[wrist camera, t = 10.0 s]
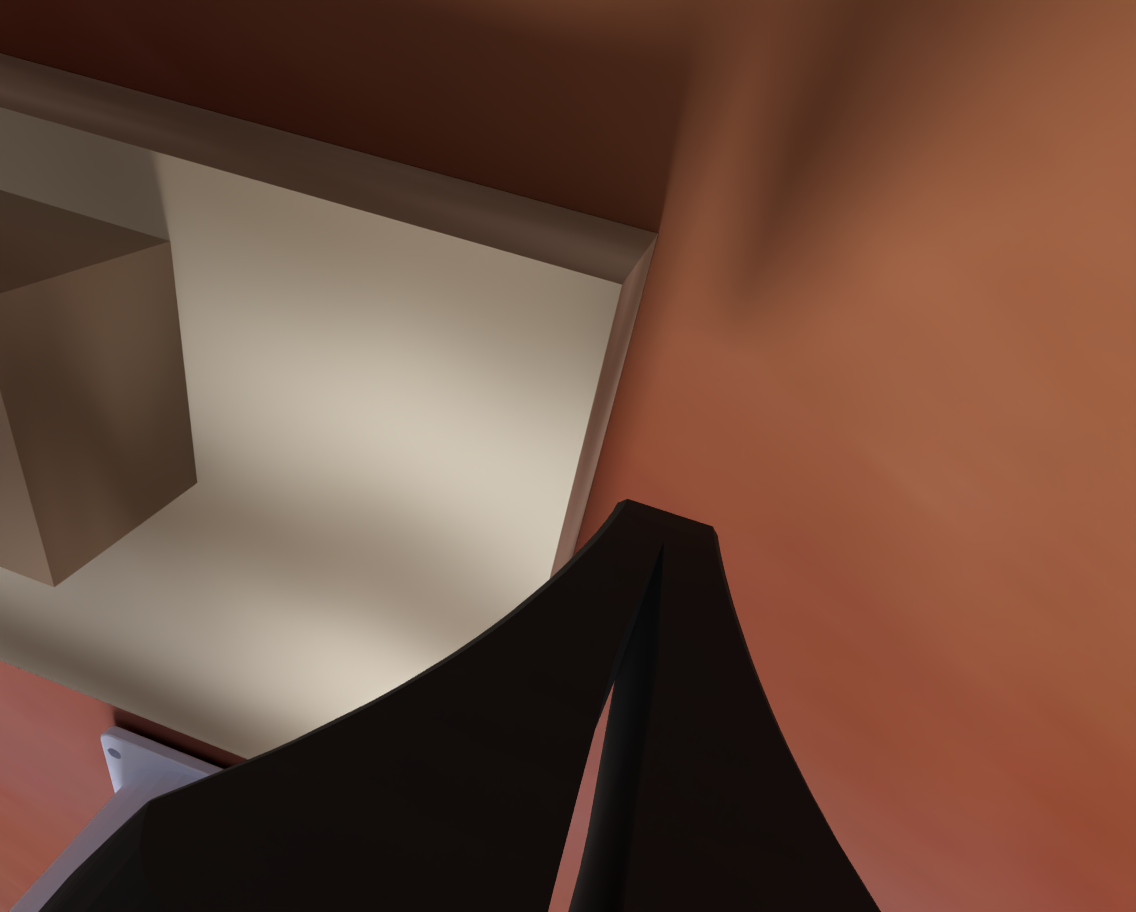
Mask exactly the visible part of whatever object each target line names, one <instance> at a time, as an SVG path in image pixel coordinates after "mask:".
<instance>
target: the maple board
mask: <svg viewBox="0 0 1136 912" xmlns="http://www.w3.org/2000/svg"><path fill="white" fill-rule="evenodd" d="M0 190H3V191H6V192H9V193H12V194H16V195H19V196H22V197H26V198H29V199H32V200H36V201H39V202H42V203H46V204H49V205H52V206H56V207H59V208H62V209H65V210H69V211H72V212H75V213H79V214H82V215H85V216H89V217H92V218H95V219H99V220H102V221H105V222H108V223H112V224H115V225H118V226H122V227H125V228H128V229H132V230H135V231H138V232H142V233H145V234H148V235H151V236H155V237H158V238H161V239H165V240H168V241H170V242H171V251H172V260H173V269H174V278H175V287H176V296H177V305H178V314H179V323H180V332H181V341H182V350H183V359H184V368H185V377H186V386H187V395H188V404H189V413H190V422H191V431H192V440H193V449H194V458H195V467H196V475H197V484H195V485H194V486H193V487H191V488H190V489H188V490H187V491H186V492H184V493H183V494H182V495H180V496H179V497H177V498H176V499H175V500H173V501H172V502H171V503H169V504H168V505H167V506H165V507H164V508H162V509H161V510H160V511H158V512H157V513H156V514H154V515H153V516H151V517H150V518H149V519H147V520H146V521H145V522H143V523H142V524H141V525H139V526H138V527H136V528H135V529H134V530H132V531H131V532H130V533H128V534H127V535H125V536H124V537H123V538H121V539H120V540H119V541H117V542H116V543H115V544H113V545H112V546H110V547H109V548H108V549H106V550H105V551H104V552H102V553H101V554H99V555H98V556H97V557H95V558H94V559H93V560H91V561H90V562H89V563H87V564H86V565H84V566H83V567H82V568H80V569H79V570H78V571H76V572H75V573H74V574H72V575H71V576H69V577H68V578H67V579H65V580H64V581H63V582H61V583H60V584H58V585H57V586H56V587H52V586H49V585H47V584H44V583H41V582H39V581H36V580H34V579H31V578H28V577H26V576H23V575H20V574H18V573H15V572H12V571H10V570H7V569H5V568H2V567H0V661H3V662H5V663H8V664H10V665H13V666H15V667H18V668H20V669H23V670H25V671H28V672H30V673H33V674H35V675H38V676H40V677H43V678H45V679H48V680H50V681H53V682H55V683H58V684H60V685H63V686H65V687H68V688H70V689H73V690H75V691H78V692H80V693H83V694H85V695H88V696H90V697H93V698H95V699H98V700H100V701H103V702H105V703H108V704H110V705H113V706H115V707H118V708H120V709H123V710H125V711H128V712H130V713H133V714H135V715H138V716H140V717H143V718H145V719H148V720H150V721H153V722H155V723H158V724H161V725H163V726H166V727H168V728H171V729H173V730H176V731H178V732H181V733H183V734H186V735H188V736H191V737H193V738H196V739H198V740H201V741H203V742H206V743H208V744H211V745H213V746H216V747H218V748H221V749H223V750H226V751H228V752H231V753H233V754H236V755H238V756H241V757H243V758H246V759H251V758H253V757H255V756H258V755H260V754H263V753H265V752H268V751H270V750H272V749H274V748H276V747H279V746H281V745H283V744H285V743H288V742H290V741H292V740H294V739H296V738H298V737H300V736H302V735H304V734H306V733H308V732H310V731H312V730H314V729H316V728H318V727H320V726H322V725H324V724H326V723H328V722H330V721H332V720H334V719H336V718H338V717H340V716H343V715H345V714H347V713H349V712H351V711H353V710H355V709H357V708H359V707H361V706H363V705H365V704H367V703H369V702H371V701H373V700H374V699H376V698H378V697H380V696H382V695H384V694H385V693H387V692H389V691H391V690H392V689H394V688H396V687H398V686H400V685H401V684H403V683H405V682H406V681H408V680H410V679H411V678H413V677H415V676H416V675H418V674H420V673H421V672H423V671H424V670H426V669H428V668H429V667H431V666H433V665H434V664H436V663H438V662H439V661H441V660H443V659H444V658H446V657H447V656H449V655H450V654H452V653H454V652H455V651H457V650H458V649H459V648H461V647H462V646H464V645H465V644H467V643H468V642H470V641H471V640H473V639H474V638H476V637H477V636H479V635H480V634H481V633H483V632H484V631H486V630H487V629H488V628H490V627H491V626H492V625H494V624H495V623H496V622H498V621H499V620H500V619H502V618H503V617H504V616H506V615H507V614H508V613H510V612H511V611H512V610H513V609H514V608H516V607H517V606H518V605H519V604H521V603H522V602H523V601H524V600H525V599H527V598H528V597H529V596H530V595H531V594H533V593H534V592H535V591H536V590H537V589H539V588H540V587H541V586H542V585H543V584H545V583H546V582H547V581H548V580H549V579H550V578H551V577H552V576H554V575H555V574H556V573H557V572H558V571H559V570H560V569H561V568H562V567H563V566H564V565H565V564H566V563H567V562H568V561H569V560H570V559H571V558H572V557H573V554H574V550H575V546H576V542H577V538H578V535H579V531H580V527H581V523H582V520H583V516H584V512H585V508H586V504H587V501H588V497H589V493H590V489H591V486H592V482H593V478H594V474H595V470H596V467H597V463H598V459H599V455H600V452H601V448H602V444H603V440H604V437H605V433H606V429H607V425H608V421H609V418H610V414H611V410H612V406H613V403H614V399H615V395H616V391H617V387H618V384H619V380H620V376H621V372H622V369H623V365H624V361H625V357H626V354H627V350H628V346H629V342H630V338H631V335H632V331H633V327H634V323H635V320H636V316H637V312H638V308H639V304H640V301H641V297H642V293H643V289H644V286H645V282H646V278H647V274H648V270H649V267H650V263H651V259H652V255H653V252H654V248H655V244H656V240H657V237H658V233H654V232H650V231H647V230H643V229H639V228H636V227H632V226H628V225H625V224H621V223H617V222H614V221H610V220H606V219H603V218H599V217H596V216H592V215H588V214H585V213H581V212H577V211H574V210H570V209H566V208H563V207H559V206H555V205H552V204H548V203H545V202H541V201H537V200H534V199H530V198H526V197H523V196H519V195H515V194H512V193H508V192H504V191H501V190H497V189H493V188H490V187H486V186H483V185H479V184H475V183H472V182H468V181H464V180H461V179H457V178H453V177H450V176H446V175H442V174H439V173H435V172H431V171H428V170H424V169H421V168H417V167H413V166H410V165H406V164H402V163H399V162H395V161H391V160H388V159H384V158H380V157H377V156H373V155H370V154H366V153H362V152H359V151H355V150H351V149H348V148H344V147H340V146H337V145H333V144H329V143H326V142H322V141H318V140H315V139H311V138H308V137H304V136H300V135H297V134H293V133H289V132H286V131H282V130H278V129H275V128H271V127H267V126H264V125H260V124H256V123H253V122H249V121H246V120H242V119H238V118H235V117H231V116H227V115H224V114H220V113H216V112H213V111H209V110H205V109H202V108H198V107H195V106H191V105H187V104H184V103H180V102H176V101H173V100H169V99H165V98H162V97H158V96H154V95H151V94H147V93H143V92H140V91H136V90H133V89H129V88H125V87H122V86H118V85H114V84H111V83H107V82H103V81H100V80H96V79H92V78H89V77H85V76H81V75H78V74H74V73H71V72H67V71H63V70H60V69H56V68H52V67H49V66H45V65H41V64H38V63H34V62H30V61H27V60H23V59H20V58H16V57H12V56H9V55H5V54H1V53H0Z"/></svg>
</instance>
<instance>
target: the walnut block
mask: <svg viewBox="0 0 1136 912" xmlns="http://www.w3.org/2000/svg"><path fill="white" fill-rule="evenodd" d="M195 484H197V475H196V467H195V458H194V449H193V440H192V431H191V422H190V413H189V404H188V395H187V386H186V377H185V368H184V359H183V350H182V341H181V332H180V323H179V314H178V305H177V296H176V287H175V278H174V269H173V260H172V251H171V242H170V241H168V240H165V239H161V238H158V237H155V236H151V235H148V234H145V233H142V232H138V231H135V230H132V229H128V228H125V227H122V226H118V225H115V224H112V223H108V222H105V221H102V220H99V219H95V218H92V217H89V216H85V215H82V214H79V213H75V212H72V211H69V210H65V209H62V208H59V207H56V206H52V205H49V204H46V203H42V202H39V201H36V200H32V199H29V198H26V197H22V196H19V195H16V194H12V193H9V192H6V191H3V190H0V567H2V568H5V569H7V570H10V571H12V572H15V573H18V574H20V575H23V576H26V577H28V578H31V579H34V580H36V581H39V582H41V583H44V584H47V585H49V586H52V587H56V586H57V585H58V584H60V583H61V582H63V581H64V580H65V579H67V578H68V577H69V576H71V575H72V574H74V573H75V572H76V571H78V570H79V569H80V568H82V567H83V566H84V565H86V564H87V563H89V562H90V561H91V560H93V559H94V558H95V557H97V556H98V555H99V554H101V553H102V552H104V551H105V550H106V549H108V548H109V547H110V546H112V545H113V544H115V543H116V542H117V541H119V540H120V539H121V538H123V537H124V536H125V535H127V534H128V533H130V532H131V531H132V530H134V529H135V528H136V527H138V526H139V525H141V524H142V523H143V522H145V521H146V520H147V519H149V518H150V517H151V516H153V515H154V514H156V513H157V512H158V511H160V510H161V509H162V508H164V507H165V506H167V505H168V504H169V503H171V502H172V501H173V500H175V499H176V498H177V497H179V496H180V495H182V494H183V493H184V492H186V491H187V490H188V489H190V488H191V487H193V486H194V485H195Z"/></svg>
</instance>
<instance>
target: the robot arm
mask: <svg viewBox="0 0 1136 912" xmlns="http://www.w3.org/2000/svg"><path fill="white" fill-rule="evenodd" d="M614 681H615V682H614ZM613 683H614V688H613V693H612V699H611V704H610V710H609V715H608V721H607V727H606V732H605V738H604V743H603V749H602V755H601V760H600V766H599V772H598V777H597V783H596V789H595V794H594V800H593V806H592V811H591V817H590V823H589V828H588V834H587V838H586V843H585V848H584V852H583V857H582V861H581V866H580V870H579V874H578V878H577V881H576V885H575V889H574V893H573V896H572V900H571V904H570V907H569V911H568V912H881V911H880V910H879V908H878V906H877V905H876V903H875V901H874V900H873V898H872V896H871V895H870V893H869V892H868V890H867V888H866V887H865V885H864V883H863V882H862V880H861V879H860V877H859V875H858V874H857V872H856V870H855V869H854V867H853V866H852V864H851V862H850V861H849V859H848V857H847V856H846V854H845V852H844V851H843V849H842V848H841V846H840V844H839V843H838V841H837V839H836V837H835V836H834V834H833V832H832V830H831V828H830V826H829V825H828V823H827V821H826V819H825V817H824V815H823V814H822V812H821V810H820V808H819V806H818V804H817V803H816V801H815V799H814V797H813V795H812V793H811V791H810V790H809V788H808V786H807V784H806V782H805V780H804V778H803V776H802V774H801V772H800V770H799V768H798V766H797V764H796V762H795V760H794V758H793V756H792V754H791V751H790V749H789V747H788V745H787V743H786V741H785V739H784V736H783V734H782V732H781V730H780V728H779V725H778V723H777V721H776V719H775V716H774V714H773V712H772V709H771V707H770V704H769V702H768V699H767V697H766V695H765V692H764V690H763V687H762V685H761V682H760V680H759V677H758V675H757V672H756V669H755V667H754V664H753V661H752V659H751V656H750V653H749V650H748V647H747V644H746V641H745V638H744V635H743V632H742V629H741V626H740V623H739V620H738V617H737V614H736V611H735V608H734V604H733V601H732V597H731V594H730V590H729V586H728V582H727V579H726V575H725V571H724V566H723V562H722V557H721V553H720V547H719V542H718V536H717V534H716V532H715V530H714V528H713V527H712V526H709V525H706V524H703V523H700V522H697V521H694V520H691V519H688V518H685V517H682V516H678V515H675V514H672V513H669V512H666V511H663V510H660V509H657V508H654V507H651V506H648V505H645V504H642V503H638V502H635V501H632V500H629V499H626V500H624V501H621V502H619V503H617V505H616V507H615V508H614V510H613V512H612V513H611V515H610V516H609V517H608V519H607V520H606V521H605V523H604V524H603V525H602V526H601V527H600V529H599V530H598V531H597V532H596V533H595V534H594V535H593V537H592V538H591V539H590V540H589V541H588V542H587V543H586V544H585V545H584V546H583V547H582V548H581V549H580V550H579V551H578V552H577V553H576V554H575V555H574V556H573V557H572V558H571V559H570V560H569V561H568V562H567V563H566V564H565V565H564V566H563V567H562V568H561V569H560V570H559V571H558V572H557V573H556V574H555V575H554V576H552V577H551V578H550V579H549V580H548V581H547V582H546V583H545V584H543V585H542V586H541V587H540V588H539V589H537V590H536V591H535V592H534V593H533V594H531V595H530V596H529V597H528V598H527V599H525V600H524V601H523V602H522V603H521V604H519V605H518V606H517V607H516V608H514V609H513V610H512V611H511V612H510V613H508V614H507V615H506V616H504V617H503V618H502V619H500V620H499V621H498V622H496V623H495V624H494V625H492V626H491V627H490V628H488V629H487V630H486V631H484V632H483V633H481V634H480V635H479V636H477V637H476V638H474V639H473V640H471V641H470V642H468V643H467V644H465V645H464V646H462V647H461V648H459V649H458V650H457V651H455V652H454V653H452V654H450V655H449V656H447V657H446V658H444V659H443V660H441V661H439V662H438V663H436V664H434V665H433V666H431V667H429V668H428V669H426V670H424V671H423V672H421V673H420V674H418V675H416V676H415V677H413V678H411V679H410V680H408V681H406V682H405V683H403V684H401V685H400V686H398V687H396V688H394V689H392V690H391V691H389V692H387V693H385V694H384V695H382V696H380V697H378V698H376V699H374V700H373V701H371V702H369V703H367V704H365V705H363V706H361V707H359V708H357V709H355V710H353V711H351V712H349V713H347V714H345V715H343V716H340V717H338V718H336V719H334V720H332V721H330V722H328V723H326V724H324V725H322V726H320V727H318V728H316V729H314V730H312V731H310V732H308V733H306V734H304V735H302V736H300V737H298V738H296V739H294V740H292V741H290V742H288V743H285V744H283V745H281V746H279V747H276V748H274V749H272V750H270V751H268V752H265V753H263V754H260V755H258V756H255V757H253V758H251V759H248V760H246V761H243V762H241V763H238V764H236V765H234V766H231V767H229V768H226V769H222V768H220V767H217V766H215V765H212V764H210V763H207V762H205V761H202V760H200V759H197V758H195V757H192V756H190V755H187V754H185V753H182V752H180V751H177V750H175V749H172V748H170V747H167V746H165V745H162V744H160V743H158V742H155V741H153V740H150V739H148V738H145V737H143V736H140V735H138V734H135V733H133V732H130V731H128V730H125V729H123V728H120V727H117V726H111V727H109V728H108V729H107V730H106V731H105V732H104V733H103V734H102V735H101V743H102V746H103V750H104V754H105V757H106V761H107V765H108V769H109V772H110V776H111V780H112V783H113V787H114V791H115V794H114V796H113V797H112V798H111V799H110V800H109V801H108V802H107V803H106V804H105V806H104V807H103V808H102V809H101V810H100V811H99V812H98V813H97V814H96V815H95V817H94V818H93V819H92V820H91V821H90V822H89V823H88V824H87V825H86V826H85V828H84V829H83V830H82V831H81V832H80V833H79V834H78V835H77V836H76V838H75V839H74V840H73V841H72V842H71V843H70V844H69V845H68V846H67V847H66V849H65V850H64V851H63V852H62V853H61V854H60V855H59V856H58V857H57V858H56V860H55V861H54V862H53V863H52V864H51V865H50V866H49V867H48V868H47V870H46V871H45V872H44V873H43V874H42V875H41V876H40V877H39V878H38V879H37V881H36V882H35V883H34V884H33V885H32V886H31V887H30V888H29V889H28V891H27V892H26V893H25V894H24V895H23V896H22V897H21V898H20V899H19V900H18V902H17V903H16V904H15V905H14V906H13V907H12V908H11V909H10V910H9V911H8V912H548V909H549V905H550V901H551V897H552V893H553V889H554V885H555V881H556V877H557V873H558V869H559V865H560V862H561V858H562V854H563V850H564V846H565V842H566V838H567V835H568V831H569V827H570V823H571V819H572V815H573V811H574V807H575V804H576V800H577V796H578V792H579V788H580V784H581V780H582V777H583V773H584V769H585V765H586V762H587V758H588V754H589V750H590V747H591V743H592V739H593V735H594V731H595V728H596V726H597V723H598V721H599V718H600V716H601V713H602V711H603V708H604V706H605V703H606V701H607V698H608V696H609V693H610V691H611V688H612V686H613Z"/></svg>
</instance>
